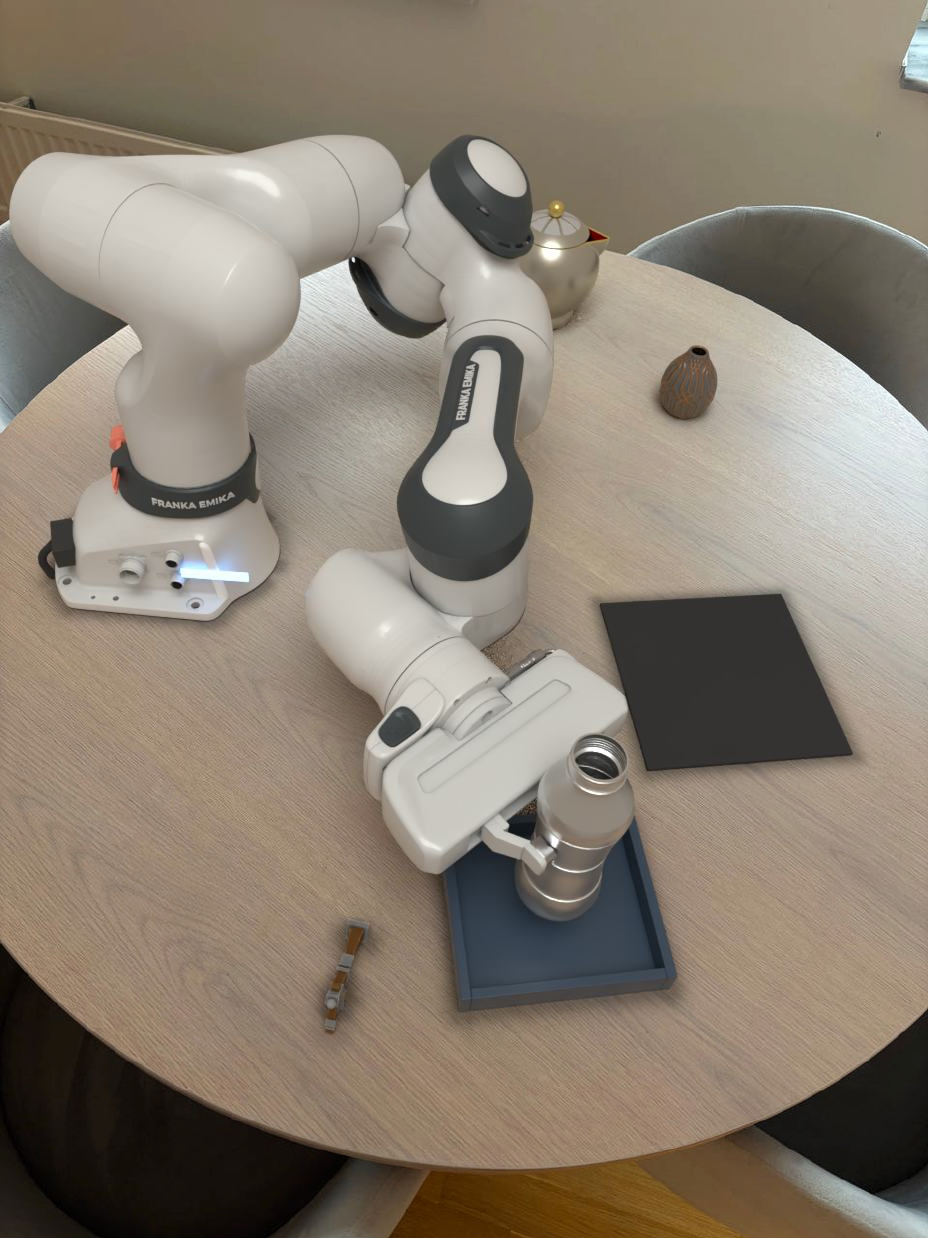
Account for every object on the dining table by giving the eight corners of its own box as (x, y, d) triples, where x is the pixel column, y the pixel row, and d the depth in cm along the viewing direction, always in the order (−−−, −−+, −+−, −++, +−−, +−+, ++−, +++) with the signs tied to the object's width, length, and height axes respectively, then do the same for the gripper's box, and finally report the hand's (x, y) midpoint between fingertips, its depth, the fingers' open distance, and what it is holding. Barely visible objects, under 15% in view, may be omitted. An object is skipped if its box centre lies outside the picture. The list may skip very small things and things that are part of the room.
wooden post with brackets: (313, 1040, 69) (318, 996, 67) (342, 958, 76) (347, 916, 74) (337, 1046, 69) (343, 1002, 67) (364, 963, 76) (370, 921, 74)
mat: (647, 771, 87) (648, 769, 86) (599, 605, 99) (600, 602, 99) (851, 755, 89) (853, 753, 89) (780, 595, 102) (781, 593, 102)
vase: (707, 430, 119) (727, 372, 112) (652, 420, 120) (669, 361, 113) (709, 397, 124) (728, 339, 117) (656, 388, 124) (672, 329, 117)
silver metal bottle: (534, 837, 77) (574, 696, 62) (609, 879, 75) (669, 745, 60) (495, 901, 74) (527, 767, 58) (572, 947, 72) (627, 822, 56)
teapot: (596, 297, 137) (618, 185, 125) (589, 350, 129) (612, 236, 116) (474, 278, 138) (483, 165, 126) (459, 330, 129) (467, 214, 117)
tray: (458, 1012, 72) (461, 1000, 70) (437, 836, 81) (439, 821, 79) (669, 989, 74) (678, 976, 72) (625, 820, 83) (631, 805, 81)
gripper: (545, 663, 79) (670, 776, 73) (348, 800, 70) (473, 943, 64) (556, 614, 74) (691, 731, 68) (346, 755, 65) (481, 905, 59)
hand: (584, 835), depth 66 cm, fingers closed on silver metal bottle, 6 cm apart
